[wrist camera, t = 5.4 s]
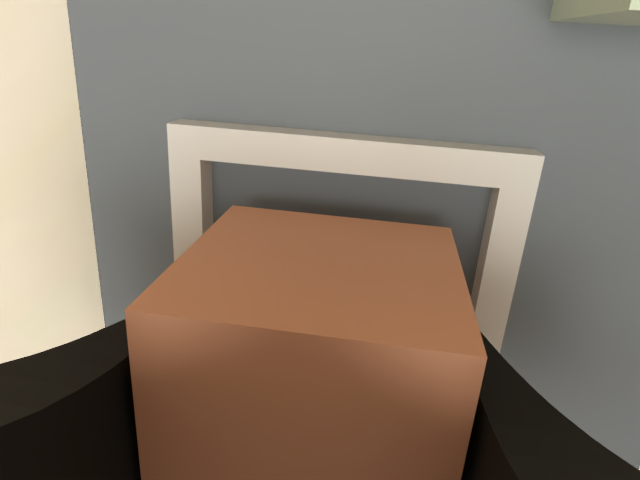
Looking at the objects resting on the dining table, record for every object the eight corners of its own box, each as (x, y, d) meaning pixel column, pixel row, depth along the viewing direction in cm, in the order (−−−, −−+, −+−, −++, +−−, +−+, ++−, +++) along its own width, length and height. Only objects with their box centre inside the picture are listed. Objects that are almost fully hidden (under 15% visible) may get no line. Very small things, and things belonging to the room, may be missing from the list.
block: (420, 408, 13) (432, 609, 8) (233, 381, 14) (148, 555, 9) (450, 228, 11) (487, 356, 7) (232, 205, 12) (124, 310, 7)
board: (601, 502, 16) (624, 555, 15) (133, 428, 18) (106, 467, 16) (974, -507, 8) (1125, -650, 6) (43, -457, 10) (-29, -559, 8)
